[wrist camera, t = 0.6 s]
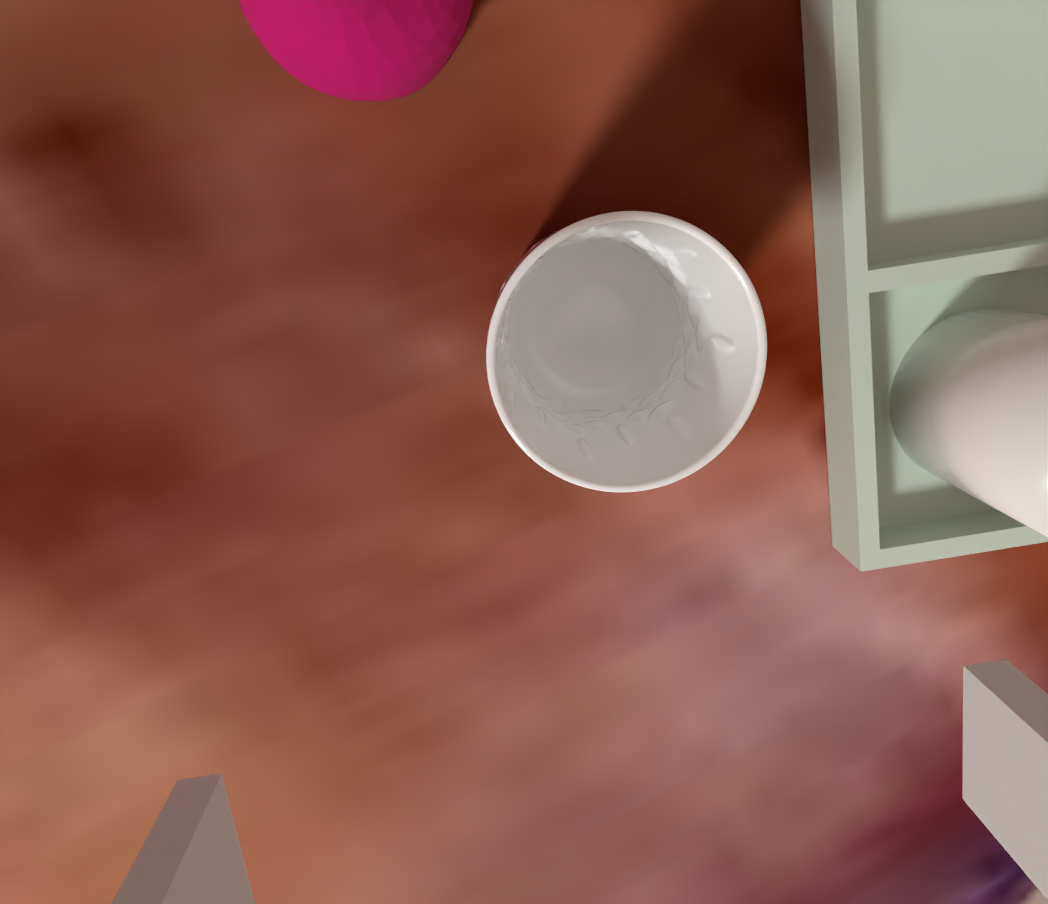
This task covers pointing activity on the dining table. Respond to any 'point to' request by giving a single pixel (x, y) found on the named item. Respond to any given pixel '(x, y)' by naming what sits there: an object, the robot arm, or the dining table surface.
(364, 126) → the dining table surface
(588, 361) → the white cup
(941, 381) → the white capsule
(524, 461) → the dining table surface
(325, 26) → the pepper mill
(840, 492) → the caddy
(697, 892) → the dining table surface
